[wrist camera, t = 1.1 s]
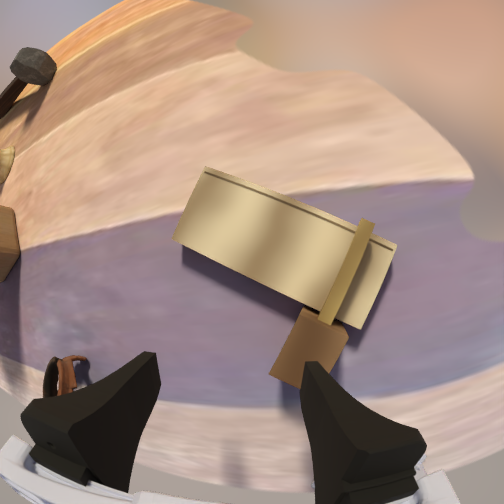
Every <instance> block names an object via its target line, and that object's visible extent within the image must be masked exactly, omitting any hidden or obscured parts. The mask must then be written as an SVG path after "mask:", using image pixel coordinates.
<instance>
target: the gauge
mask: <svg viewBox="0 0 504 504" xmlns="http://www.w3.org/2000/svg"><path fill="white" fill-rule="evenodd" d="M374 225H375V224H374V223H372V222H370V221H368V220H366V219H363V218H362V219H361V220H360V222H359V225H358V227H357V230H356V232H355V235H354V237H353V240H352V242H351V245H350V247H349V249H348V252H347V254H346V256H345V259H344V261H343V263H342V266H341V268H340V270H339V272H338V275H337V277H336V279H335V281H334V284H333V286H332V288H331V290H330V292H329V294H328V296H327V299H326V301H325V303H324V305H323V307H322V309H321V311H320V313H319V312H317V311H315V310H313V309H310V308H308V307H306V306H303V308H302V310H301V312H300V315H299V317H298V319H297V321H296V323H295V325H294V327H293V329H292V331H291V333H290V335H289V336H288V338H287V340H286V342H285V344H284V346H283V348H282V350H281V352H280V354H279V356H278V358H277V359H276V361H275V363H274V365H273V367H272V369H271V371H270V372H269V375H271V376H273V377H275V378H277V379H279V380H281V381H284V382H286V383H288V384H290V385H292V386H294V387H297V388H299V389H300V388H301V383H302V377H303V371H304V365H305V361H318V362H319V363H320V364H321V365H322V367H323V368H324V369H325V370H326V371H327V372H328V373H330V371H331V369H332V368H333V366H334V364H335V362H336V361H337V359H338V357H339V355H340V353H341V352H342V350H343V348H344V346H345V344H346V342H347V340H348V338H349V336H348V334H347V332H346V330H345V328H344V326H343V324H342V323H341V322H339V321H336V320H334V317H335V315H336V313H337V311H338V309H339V307H340V305H341V303H342V301H343V299H344V297H345V294H346V292H347V290H348V288H349V286H350V284H351V281H352V279H353V277H354V275H355V272H356V270H357V268H358V265H359V263H360V261H361V258H362V256H363V253H364V251H365V248H366V246H367V243H368V241H369V238H370V236H371V233H372V231H373V228H374Z"/></svg>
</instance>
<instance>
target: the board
mask: <svg viewBox="0 0 504 504" xmlns="http://www.w3.org/2000/svg"><path fill="white" fill-rule="evenodd" d="M356 230H357V226H355V225H353V224H351V223H349V222H346V221H344V220H342V219H340V218H337V217H335V216H333V215H330V214H328V213H326V212H324V211H321V210H319V209H316V208H314V207H312V206H309V205H307V204H304V203H302V202H300V201H297V200H295V199H292V198H290V197H287V196H285V195H282V194H280V193H277V192H275V191H272V190H269V189H267V188H264V187H262V186H259V185H256V184H254V183H251V182H248V181H246V180H243V179H240V178H237V177H235V176H232V175H229V174H226V173H223V172H220V171H218V170H215V169H212V168H209V167H206V166H205V168H204V170H203V172H202V174H201V176H200V178H199V180H198V182H197V184H196V186H195V188H194V190H193V192H192V195H191V197H190V199H189V201H188V203H187V205H186V207H185V210H184V212H183V214H182V216H181V218H180V221H179V223H178V225H177V227H176V230H175V232H174V234H173V237H172V239H173V240H175V241H177V242H178V243H180V244H182V245H184V246H186V247H188V248H190V249H192V250H194V251H196V252H198V253H200V254H202V255H204V256H206V257H208V258H210V259H212V260H214V261H216V262H218V263H220V264H222V265H224V266H226V267H228V268H231V269H233V270H235V271H237V272H239V273H241V274H243V275H245V276H247V277H249V278H251V279H253V280H255V281H257V282H259V283H261V284H263V285H266V286H268V287H270V288H272V289H274V290H276V291H278V292H280V293H282V294H284V295H286V296H289V297H291V298H293V299H295V300H297V301H299V302H301V303H303V304H306V305H308V306H310V307H312V308H314V309H316V310H319V311H321V309H322V307H323V305H324V303H325V301H326V299H327V296H328V294H329V292H330V290H331V288H332V286H333V284H334V281H335V279H336V277H337V275H338V272H339V270H340V268H341V266H342V263H343V261H344V259H345V256H346V254H347V252H348V249H349V247H350V245H351V242H352V240H353V237H354V235H355V232H356ZM396 248H397V245H396V244H394V243H392V242H389V241H387V240H385V239H383V238H381V237H379V236H377V235H375V234H373V233H371V236H370V238H369V241H368V243H367V246H366V248H365V251H364V253H363V256H362V258H361V261H360V263H359V265H358V268H357V270H356V272H355V275H354V277H353V279H352V281H351V284H350V286H349V288H348V290H347V292H346V294H345V297H344V299H343V301H342V303H341V305H340V307H339V309H338V311H337V313H336V315H335V317H334V318H336V319H338V320H340V321H342V322H345V323H347V324H349V325H351V326H353V327H356V328H358V329H360V330H361V328H362V326H363V324H364V322H365V320H366V318H367V316H368V313H369V311H370V309H371V307H372V305H373V303H374V301H375V298H376V296H377V294H378V292H379V289H380V287H381V285H382V282H383V280H384V278H385V275H386V273H387V271H388V268H389V266H390V263H391V261H392V258H393V255H394V253H395V250H396Z"/></svg>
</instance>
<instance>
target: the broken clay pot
mask: <svg viewBox="0 0 504 504" xmlns="http://www.w3.org/2000/svg"><path fill="white" fill-rule="evenodd" d="M86 359H87V358H86V357H83V356H75V355H72V356H68V357H65V358H63V359H59V358H57V357H53V358H52V359H51V360H50V362H49V364H48V366H47V369H46V372H45V376H44V382H43V398H48V397H54V396H59V395H63V394H67V393H71V392H74V391H73V389H75V388H77V383H76V376H75V372H74V370H73V361H76V360H81V361H85V360H86ZM58 374H59V389H58V390H57V383H58Z"/></svg>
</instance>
